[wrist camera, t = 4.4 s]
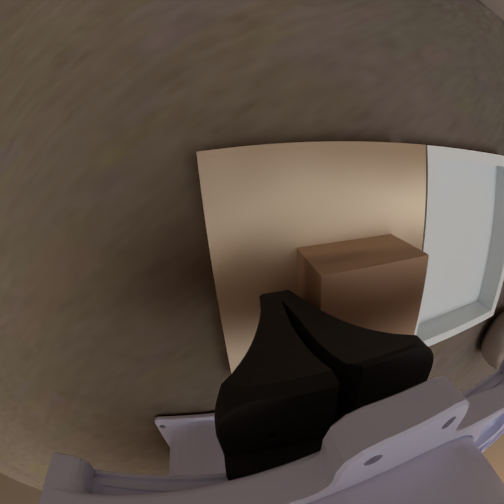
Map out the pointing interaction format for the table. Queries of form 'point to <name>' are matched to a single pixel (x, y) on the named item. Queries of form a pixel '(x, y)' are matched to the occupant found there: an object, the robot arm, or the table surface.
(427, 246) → the box
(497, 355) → the plastic bottle
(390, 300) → the brown block
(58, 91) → the table surface
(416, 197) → the tan wooden flat block
